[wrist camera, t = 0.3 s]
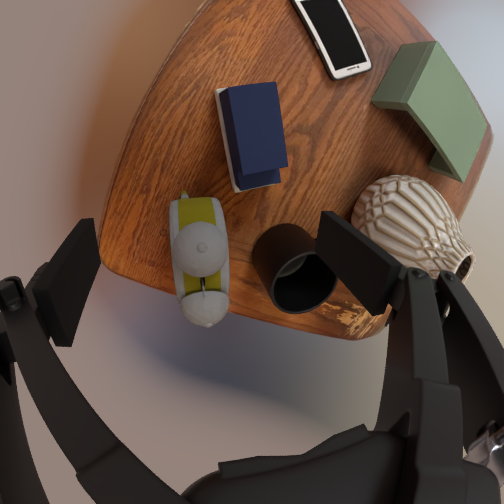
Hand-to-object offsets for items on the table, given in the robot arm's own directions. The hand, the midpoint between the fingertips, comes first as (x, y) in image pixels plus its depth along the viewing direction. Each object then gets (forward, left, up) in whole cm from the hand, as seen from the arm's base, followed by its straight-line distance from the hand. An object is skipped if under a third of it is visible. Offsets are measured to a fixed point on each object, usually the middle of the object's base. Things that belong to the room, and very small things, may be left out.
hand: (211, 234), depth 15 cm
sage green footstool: (-36, +15, -21) cm, 44 cm away
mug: (-2, +18, -21) cm, 28 cm away
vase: (-17, +24, -21) cm, 36 cm away
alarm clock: (+5, +6, -21) cm, 22 cm away
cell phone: (-27, -4, -21) cm, 34 cm away
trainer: (-7, +1, -20) cm, 22 cm away
